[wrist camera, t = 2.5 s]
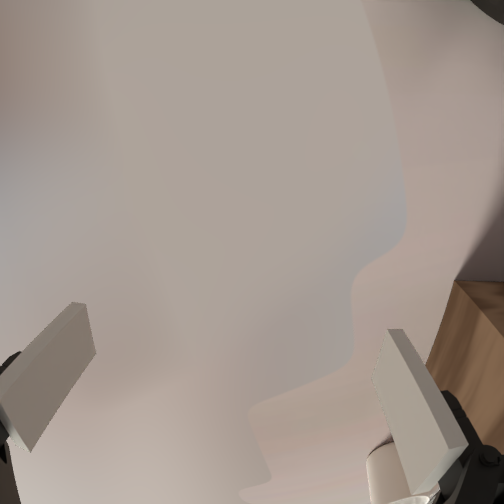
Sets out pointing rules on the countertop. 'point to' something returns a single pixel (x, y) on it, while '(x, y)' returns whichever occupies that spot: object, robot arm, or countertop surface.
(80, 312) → the robot arm
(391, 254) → the countertop surface
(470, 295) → the post
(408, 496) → the mug
